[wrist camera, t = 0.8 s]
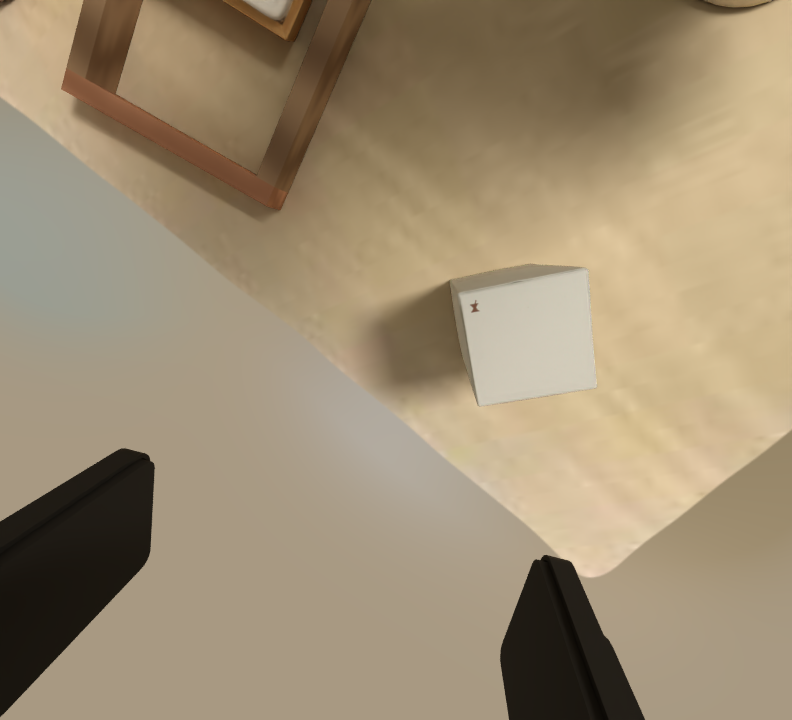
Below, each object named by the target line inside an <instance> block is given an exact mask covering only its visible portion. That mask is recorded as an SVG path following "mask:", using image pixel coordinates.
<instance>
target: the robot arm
mask: <svg viewBox="0 0 792 720" xmlns="http://www.w3.org/2000/svg"><path fill="white" fill-rule="evenodd" d="M705 1H707V2H710V3H712V4H715V5H719V6H726V7H734V8H735V7H748V6H755V5H758V4H762V3H765V2H769V1H772V0H705ZM154 469H155V467H154V463H153V462H151V461H150V458H149V456H148V455H147V454H145V453H141V452H137V451H133V450H129V449H120V450H118V451H116V452H114V453H112V454H111V455H109V456H107V457H106V458H104V459H102V460H101V461H99V462H97V463H96V464H94V465H93V466H91V467H89V468H88V469H86V470H84V471H83V472H81V473H79V474H78V475H76V476H74V477H73V478H71V479H70V480H68V481H66V482H65V483H63V484H61V485H60V486H58V487H57V488H55V489H53V490H52V491H50V492H48V493H46V494H45V495H43V496H42V497H40V498H39V499H37V500H35V501H33V502H32V503H30V504H28V505H27V506H25V507H24V508H22V509H20V510H19V511H17V512H15V513H14V514H12V515H10V516H9V517H7V518H5V519H4V520H2V521H0V717H1V715H3V714H4V713H5V712H6V711H7V710H8V709H9V708H10V707H11V706H12V705H13V703H14V702H15V701H16V700H17V699H18V698H19V697H20V696H21V695H22V694H23V693H24V692H25V691H26V690H27V688H29V687H30V685H31V684H32V683H33V682H34V681H35V680H36V679H37V678H38V677H39V676H40V675H41V674H42V673H43V672H44V671H45V669H47V667H49V665H50V664H51V663H52V662H53V661H54V660H55V659H56V658H57V657H58V656H59V655H60V654H61V653H62V652H63V651H64V650H65V649H66V648H67V646H68V645H69V644H70V643H71V642H72V641H73V640H74V639H75V638H76V637H77V636H78V635H79V634H80V632H81V631H83V630H84V629H85V627H86V626H87V625H88V624H89V623H90V622H91V621H92V620H93V619H94V618H95V617H96V616H97V615H98V614H99V613H100V612H101V611H102V609H104V607H105V606H106V605H107V604H108V603H109V602H110V601H111V600H112V599H113V598H114V597H115V595H117V594H118V593H119V592H120V590H122V588H123V587H124V586H125V585H126V584H127V583H128V582H129V581H130V580H131V579H132V578H133V577H134V576H135V575H136V574H137V573H138V572H139V571H140V569H141V568H142V567H143V566H144V565H145V563H146V561H147V559H148V557H149V554H150V547H151V527H152V508H153V507H152V506H153V488H154ZM500 661H501V669H502V676H503V682H504V689H505V695H506V702H507V708H508V715H509V720H645V719H644V716H643V714H642V712H641V710H640V707H639V705H638V703H637V700H636V698H635V696H634V694H633V692H632V689H631V687H630V685H629V683H628V680H627V678H626V676H625V673H624V671H623V669H622V667H621V665H620V662H619V660H618V658H617V656H616V653H615V651H614V649H613V647H612V645H611V644H610V641H609V640H608V639H607V638H606V637H605V636H604V635H603V632H602V630H601V628H600V626H599V624H598V621H597V619H596V617H595V614H594V612H593V609H592V607H591V605H590V603H589V601H588V598H587V596H586V593H585V591H584V589H583V586H582V584H581V582H580V580H579V578H578V575H577V573H576V570H575V568H574V566H573V564H572V563H571V562H570V561H568V560H564V559H560V558H556V557H552V556H548V555H544V556H543V557H542V558H541V560H534V561H533V563H532V566H531V569H530V571H529V574H528V577H527V579H526V582H525V584H524V587H523V590H522V593H521V595H520V598H519V600H518V603H517V606H516V608H515V611H514V614H513V616H512V619H511V622H510V625H509V627H508V630H507V632H506V635H505V638H504V640H503V643H502V647H501V654H500Z"/></svg>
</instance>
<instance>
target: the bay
mask: <svg viewBox="0 0 792 720" xmlns="http://www.w3.org/2000/svg"><path fill="white" fill-rule="evenodd" d="M370 2H371V0H328V1H327V4H326V6H325V9H324V11H323V14H322V16H321V18H320V21H319V23H318V26H317V28H316V31H315V33H314V36H313V38H312V41H311V43H310V46H309V48H308V51H307V53H306V55H305V58H304V60H303V63H302V65H301V68H300V70H299V73H298V75H297V78H296V80H295V83H294V85H293V88H292V90H291V92H290V95H289V97H288V100H287V102H286V105H285V107H284V110H283V112H282V115H281V117H280V120H279V122H278V125H277V127H276V129H275V132H274V134H273V137H272V139H271V142H270V144H269V147H268V149H267V152H266V154H265V157H264V159H263V162H262V164H261V166H260V169H259V171H258V174H257V175H256V174H254V173H252V172H250V171H249V170H247V169H245V168H244V167H242V166H240V165H238V164H237V163H235V162H233V161H231V160H230V159H228V158H226V157H224V156H223V155H221V154H219V153H217V152H216V151H214V150H212V149H210V148H209V147H207V146H205V145H203V144H202V143H200V142H198V141H196V140H195V139H193V138H191V137H189V136H188V135H186V134H184V133H182V132H181V131H179V130H177V129H175V128H174V127H172V126H170V125H169V124H167V123H165V122H163V121H162V120H160V119H158V118H156V117H155V116H153V115H151V114H149V113H148V112H146V111H144V110H142V109H141V108H139V107H137V106H135V105H134V104H132V103H130V102H128V101H127V100H125V99H123V98H121V97H120V96H118V95H116V94H115V93H116V90H117V86H118V83H119V80H120V76H121V73H122V69H123V66H124V62H125V59H126V55H127V52H128V49H129V45H130V42H131V38H132V35H133V31H134V28H135V24H136V21H137V18H138V14H139V11H140V7H141V4H142V0H84V1H83V5H82V9H81V13H80V17H79V21H78V25H77V29H76V33H75V36H74V40H73V44H72V48H71V52H70V56H69V60H68V64H67V68H66V72H65V76H64V80H63V84H62V88H61V89H62V90H64V91H66V92H67V93H69V94H71V95H73V96H74V97H76V98H78V99H80V100H81V101H83V102H85V103H87V104H88V105H90V106H92V107H94V108H95V109H97V110H99V111H101V112H102V113H104V114H106V115H108V116H109V117H111V118H113V119H115V120H116V121H118V122H120V123H122V124H123V125H125V126H127V127H129V128H130V129H132V130H134V131H136V132H137V133H139V134H141V135H143V136H144V137H146V138H148V139H150V140H151V141H153V142H155V143H157V144H158V145H160V146H162V147H164V148H166V149H167V150H169V151H171V152H173V153H174V154H176V155H178V156H180V157H181V158H183V159H185V160H187V161H188V162H190V163H192V164H194V165H195V166H197V167H199V168H201V169H202V170H204V171H206V172H208V173H209V174H211V175H213V176H215V177H216V178H218V179H220V180H222V181H223V182H225V183H227V184H229V185H230V186H232V187H234V188H236V189H237V190H239V191H241V192H243V193H244V194H246V195H248V196H250V197H251V198H253V199H255V200H257V201H258V202H260V203H262V204H264V205H265V206H268V207H271V208H275V209H278V210H281V208H282V206H283V203H284V201H285V199H286V196H287V194H288V192H289V189H290V187H291V185H292V182H293V180H294V178H295V175H296V173H297V171H298V168H299V166H300V164H301V162H302V159H303V157H304V155H305V152H306V150H307V148H308V145H309V143H310V141H311V138H312V136H313V134H314V131H315V129H316V127H317V125H318V122H319V120H320V118H321V115H322V113H323V111H324V108H325V106H326V104H327V101H328V99H329V97H330V94H331V92H332V90H333V87H334V85H335V83H336V81H337V78H338V76H339V74H340V71H341V69H342V67H343V64H344V62H345V60H346V57H347V55H348V53H349V50H350V48H351V46H352V44H353V41H354V39H355V37H356V34H357V32H358V30H359V27H360V25H361V23H362V20H363V18H364V16H365V13H366V11H367V9H368V7H369V4H370Z"/></svg>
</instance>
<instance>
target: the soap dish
mask: <svg viewBox="0 0 792 720" xmlns="http://www.w3.org/2000/svg"><path fill="white" fill-rule="evenodd" d="M222 1H224V2H226V3H227V4H229V5H230V6H232V7H234V8H235V9H237V10H238V11H240V12H241V13H243V14H245V15H246V16H248V17H249V18H251V19H252V20H254V21H256V22H257V23H259V24H260V25H262V26H264V27H265V28H267V29H268V30H270V31H272V32H273V33H275V34H276V35H278V36H280V37H281V38H283V39H284V40H286V41H292V42H294V41H295V39H296V37H297V34H298V32H299V30H300V28H301V25H302V23H303V21H304V18H305V16H306V14H307V11H308V9H309V7H310V4H311V2H312V0H222Z"/></svg>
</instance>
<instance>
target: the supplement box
mask: <svg viewBox="0 0 792 720" xmlns="http://www.w3.org/2000/svg"><path fill="white" fill-rule="evenodd" d="M450 289H451V295H452V302H453V309H454V316H455V322H456V327H457V333H458V338H459V343H460V348H461V353H462V357H463V360H464V363H465V366H466V370H467V373H468V376H469V380H470V383H471V386H472V389H473V392H474V395H475V398H476V401H477V404H478V406H479V407H481V406H488V405H494V404H501V403H508V402H514V401H520V400H527V399H533V398H539V397H546V396H552V395H558V394H564V393H570V392H576V391H583V390H588V389H595V388H597V381H596V370H595V360H594V349H593V334H592V318H591V302H590V287H589V271H588V269H587V268H582V267H573V266H555V265H537V264H526V265H521V266H515V267H509V268H504V269H499V270H493V271H489V272H484V273H479V274H475V275H470V276H466V277H461V278H457V279H452V280H450Z"/></svg>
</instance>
